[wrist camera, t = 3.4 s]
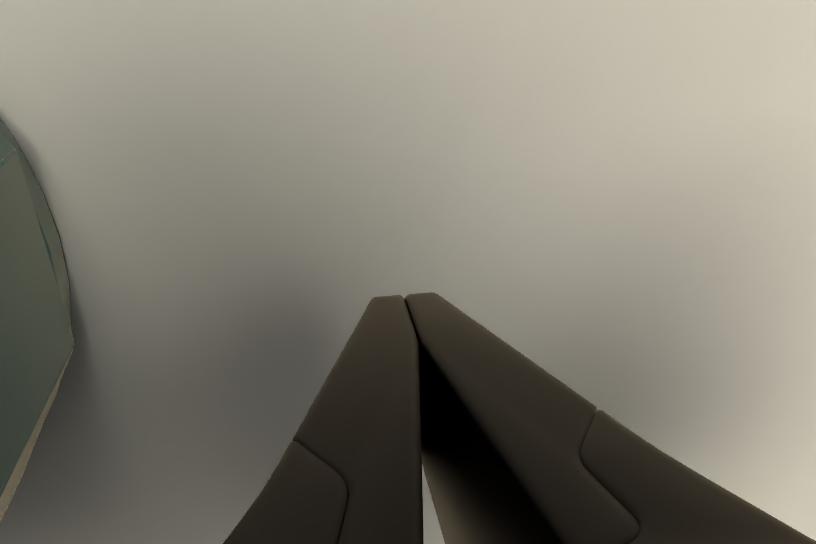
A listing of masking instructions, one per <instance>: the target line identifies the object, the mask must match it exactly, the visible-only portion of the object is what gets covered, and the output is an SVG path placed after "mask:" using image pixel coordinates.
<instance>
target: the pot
mask: <svg viewBox="0 0 816 544" xmlns="http://www.w3.org/2000/svg"><path fill="white" fill-rule="evenodd" d="M70 327H71V314H70V295H69V280H68V276H67V271H66V266H65V262H64V257H63V252H62V248H61V243H60V238H59V235H58V232H57V230H56V227H55V224H54V222H53V219H52V216H51V213H50V211H49V208H48V205H47V203H46V200H45V197H44V194H43V192H42V189H41V187H40V185H39V183H38V182H37V180H36V178H35V176H34V174H33V172H32V170H31V168H30V166H29V164H28V162H27V161H26V159H25V157H24V155H23V153H22V151H21V149H20V147H19V145H18V143H17V142H16V140H15V138H14V137H13V135H12V134H11V132H10V131H9V130H8V128H7V127H6V125H5V124H4V122H3V121H2V119H1V118H0V523H1V521H2V519H3V517H4V514H5V512H6V510H7V508H8V506H9V504H10V502H11V499H12V497H13V495H14V493H15V491H16V489H17V487H18V485H19V482H20V480H21V478H22V475H23V473H24V470H25V468H26V465H27V463H28V460H29V458H30V455H31V453H32V450H33V448H34V445H35V443H36V441H37V438H38V436H39V433H40V431H41V428H42V426H43V423H44V421H45V418H46V416H47V414H48V412H49V410H50V408H51V405H52V403H53V401H54V399H55V397H56V394H57V391H58V388H59V384H60V381H61V379H62V376H63V374H64V371H65V369H66V366H67V364H68V361H69V359H70V356H71V354H72V351H73V349H74V342H75V341H74V338H73V334H72V331H71V328H70Z"/></svg>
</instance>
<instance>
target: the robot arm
mask: <svg viewBox="0 0 816 544" xmlns="http://www.w3.org/2000/svg"><path fill="white" fill-rule="evenodd" d="M422 465H423V468H424V472H425V476H426V480H427V483H428V486H429V490H430V493H431V497H432V500H433V503H434V507H435V510H436V514H437V517H438V520H439V524H440V527H441V531H442V534H443V537H444V541H445V544H816V541H814V540H813V539H811V538H809V537H807V536H805V535H804V534H802V533H800V532H798V531H797V530H795V529H793V528H791V527H790V526H788V525H786V524H785V523H783V522H781V521H779V520H778V519H776V518H774V517H772V516H771V515H769V514H767V513H766V512H764V511H762V510H760V509H759V508H757V507H755V506H753V505H752V504H750V503H748V502H747V501H745V500H743V499H741V498H740V497H738V496H736V495H734V494H733V493H731V492H729V491H728V490H726V489H724V488H722V487H721V486H719V485H717V484H715V483H714V482H712V481H710V480H709V479H707V478H705V477H703V476H702V475H700V474H698V473H697V472H695V471H693V470H692V469H690V468H688V467H687V466H685V465H683V464H682V463H680V462H679V461H677V460H675V459H674V458H672V457H670V456H669V455H667V454H665V453H664V452H662V451H660V450H659V449H657V448H656V447H654V446H653V445H651V444H650V443H648V442H647V441H645V440H644V439H642V438H641V437H639V436H638V435H636V434H635V433H633V432H632V431H630V430H629V429H627V428H626V427H624V426H623V425H622V424H620V423H619V422H617V421H616V420H614V419H613V418H612V417H610V416H609V415H607V414H606V413H605V412H603V411H602V410H598V411H597V408H596V406H594V405H593V404H592V403H590V402H589V401H587V400H586V399H584V398H583V397H582V396H580V395H579V394H577V393H576V392H575V391H573V390H572V389H570V388H569V387H568V386H566V385H565V384H563V383H562V382H560V381H559V380H558V379H556V378H555V377H553V376H552V375H551V374H549V373H548V372H546V371H545V370H544V369H542V368H541V367H539V366H538V365H537V364H535V363H534V362H532V361H531V360H529V359H528V358H527V357H525V356H524V355H522V354H521V353H520V352H518V351H517V350H515V349H514V348H513V347H511V346H510V345H508V344H507V343H506V342H504V341H503V340H501V339H500V338H498V337H497V336H496V335H494V334H493V333H491V332H490V331H489V330H487V329H486V328H484V327H483V326H482V325H480V324H479V323H477V322H476V321H474V320H473V319H472V318H470V317H469V316H467V315H466V314H465V313H463V312H462V311H460V310H459V309H458V308H456V307H455V306H453V305H452V304H451V303H449V302H448V301H446V300H445V299H443V298H442V297H441V296H439V295H438V294H436V293H432V292H431V293H418V294H409V295H407V296H406V297H405V299H404V298H403V297H402V296H400V295H394V296H381V297H374V298H373V299H372V300H371V301H370V303H369V305H368V306H367V308H366V310H365V312H364V313H363V315H362V317H361V319H360V321H359V322H358V324H357V326H356V328H355V329H354V331H353V333H352V335H351V336H350V338H349V340H348V342H347V344H346V345H345V347H344V349H343V351H342V352H341V354H340V356H339V358H338V360H337V361H336V363H335V365H334V367H333V368H332V370H331V372H330V374H329V376H328V377H327V379H326V381H325V383H324V384H323V386H322V388H321V390H320V392H319V393H318V395H317V397H316V399H315V400H314V402H313V404H312V406H311V407H310V409H309V411H308V413H307V415H306V416H305V418H304V420H303V422H302V423H301V425H300V427H299V429H298V431H297V432H296V434H295V436H294V438H293V442H291V443H290V444H289V446H288V448H287V449H286V451H285V453H284V455H283V457H282V458H281V460H280V462H279V464H278V465H277V467H276V469H275V470H274V472H273V473H272V475H271V477H270V478H269V480H268V482H267V483H266V485H265V486H264V488H263V490H262V491H261V493H260V494H259V496H258V497H257V499H256V500H255V501H254V503H253V504H252V505H251V507H250V508H249V510H248V511H247V512H246V514H245V515H244V516H243V518H242V519H241V521H240V522H239V523H238V525H237V526H236V527H235V529H234V530H233V531H232V533H231V534H230V535H229V537H228V538H227V539H226V540H225V542H224V543H223V544H424V543H423V498H422Z"/></svg>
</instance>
